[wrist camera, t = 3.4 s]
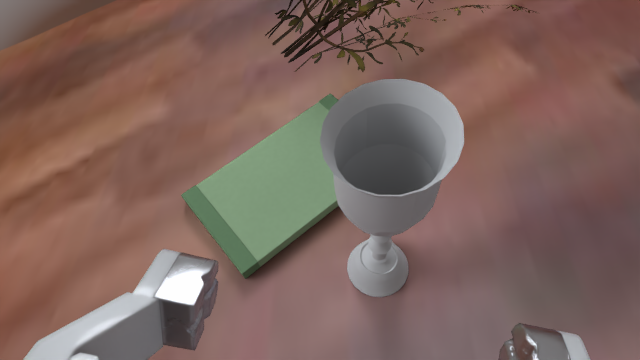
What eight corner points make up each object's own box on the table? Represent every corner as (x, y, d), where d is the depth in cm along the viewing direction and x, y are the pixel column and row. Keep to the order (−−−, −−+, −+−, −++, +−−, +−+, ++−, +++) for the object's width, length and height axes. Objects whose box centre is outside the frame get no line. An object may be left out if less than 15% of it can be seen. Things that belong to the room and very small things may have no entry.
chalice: (363, 214, 39) (366, 62, 24) (434, 250, 37) (487, 107, 22) (319, 283, 36) (291, 158, 21) (394, 327, 34) (422, 223, 19)
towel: (330, 101, 47) (330, 93, 46) (399, 158, 42) (400, 151, 41) (185, 201, 41) (180, 194, 40) (245, 279, 37) (241, 274, 36)
